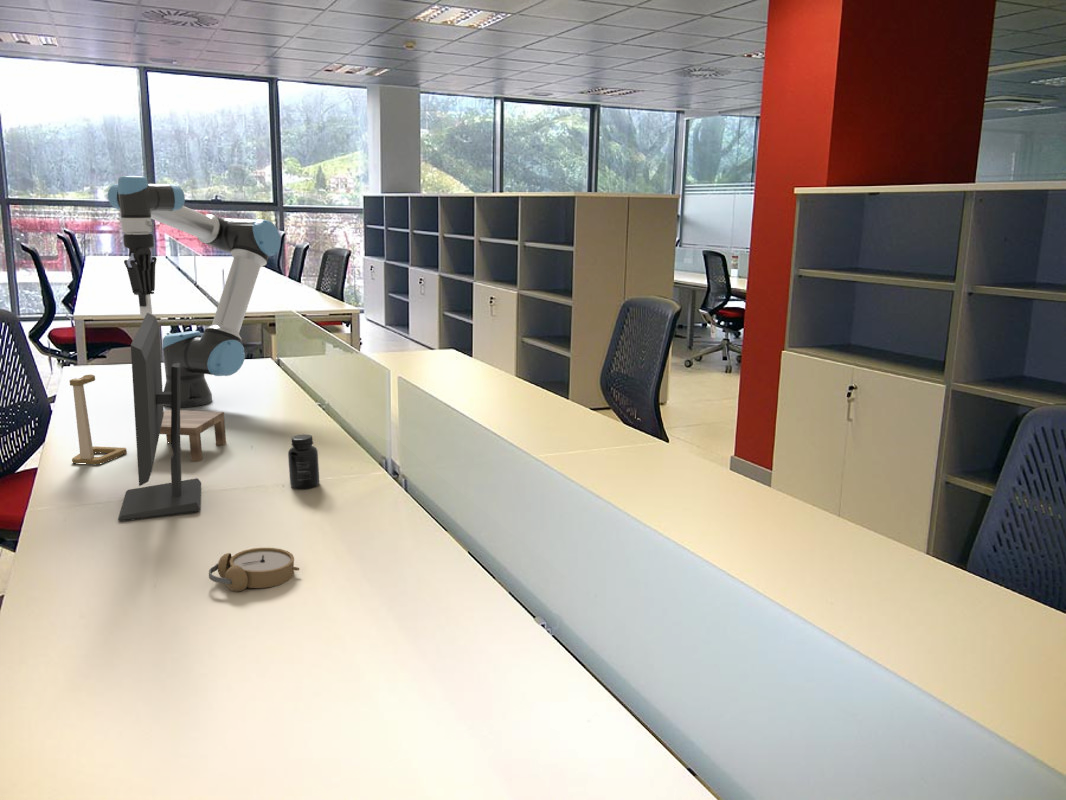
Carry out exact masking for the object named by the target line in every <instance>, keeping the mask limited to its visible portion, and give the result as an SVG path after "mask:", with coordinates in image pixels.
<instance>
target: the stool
mask: <svg viewBox="0 0 1066 800" xmlns="http://www.w3.org/2000/svg"><path fill="white" fill-rule="evenodd" d="M163 411H164V410H163ZM212 427H214V438H215V446H224V445H225V444H227V436H226V435H227V434H226V425H225V412H224V411H211V410H209V411H208V410H186V409H185V410H184V409H183V410H181V409H180V436H188V437H189V438H188V439H189V450H190V461H191V462H200V461H202V460H203V450H202V441H201V439H202V438H201V434H202V433H203V432H205V431H206V430H208V429H210V428H212ZM159 435H166V444H171V409H167V410H165V411H164V416H163V420H162V425H161V430H160V434H159ZM168 442H169V443H168Z"/></svg>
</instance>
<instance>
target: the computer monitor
mask: <svg viewBox="0 0 1066 800" xmlns="http://www.w3.org/2000/svg"><path fill="white" fill-rule="evenodd" d="M160 336H161V334H160V325H159V322H158V319H157V317H156V316H155V315H153V314H152V315H151V314H149V313H147V314H146V316H145V318H143V320H142V322H141V324H140V326H139V328H138V330H137V332H136V333H135V336H134V337H133V339H132V341H131V344H130V355H131V356H130V359H131V370H132V373H131V374H132V387H133V390H132V391H133V405H134V407H133V408H134V421H135V424H134V425H135V439H136V440H135V443H136V453H137V454H136V456H137V458H136V459H137V460H136V461H137V472H138V473H137V474H138V476H137V477H138V487H137V488H136V487H135V488H131V489H127V490H126V491H125V494H124V497H123V500H122V501H123V502H122V505H121V508H120V510H119V515H118V517H117V521H121V522H123V521H122V520H126V521H133V520H132V519H135V520H142V519H141V518H143V519H149V518H150V519H151V518H159V517H168V515H169V516H175V515H176V516H177V515H184V514H192V513H193V514H195V513H198V512H200V510H201V501H202V499H201V498H202V482H201V480H200V479H199V478H198V477H197V478H196V477H195V478H191V479H185V480H182V460H181V459H182V457H181V456H182V455H181V454H182V453H181V449H182V448H181V435H180V410H181V407H180V363H173V364H172V367H171V392H164V390H163V379H162V378H163V377H162V376H163V375H162V355H161V354H162V353H161V341H160V340H161V337H160ZM163 404H171V407H170V408H171V409H170V410H171V443H170V446H171V449H172V452H173V453H172V455H171V458H170V476H171V477H170V479H171V480H170V481H171V482H167V483H161V484H156V485H149V486H148V485H147V486H143V485H145V484H147V483H149V481H150V477H151V474H152V471H153V466H154V461H155V457H156V453H157V448H158V445H159V444H158V443H159V439H160V435H161V434H160V430H161V425H162V420H163V416H164V405H163ZM141 486H143V487H141Z"/></svg>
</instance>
